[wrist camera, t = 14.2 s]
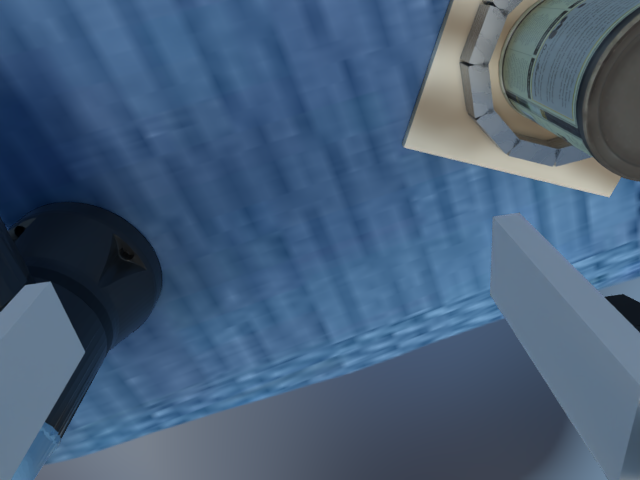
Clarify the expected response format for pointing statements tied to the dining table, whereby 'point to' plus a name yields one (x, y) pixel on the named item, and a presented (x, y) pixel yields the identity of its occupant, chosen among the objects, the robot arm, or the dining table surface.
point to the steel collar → (480, 95)
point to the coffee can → (579, 76)
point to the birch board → (465, 135)
